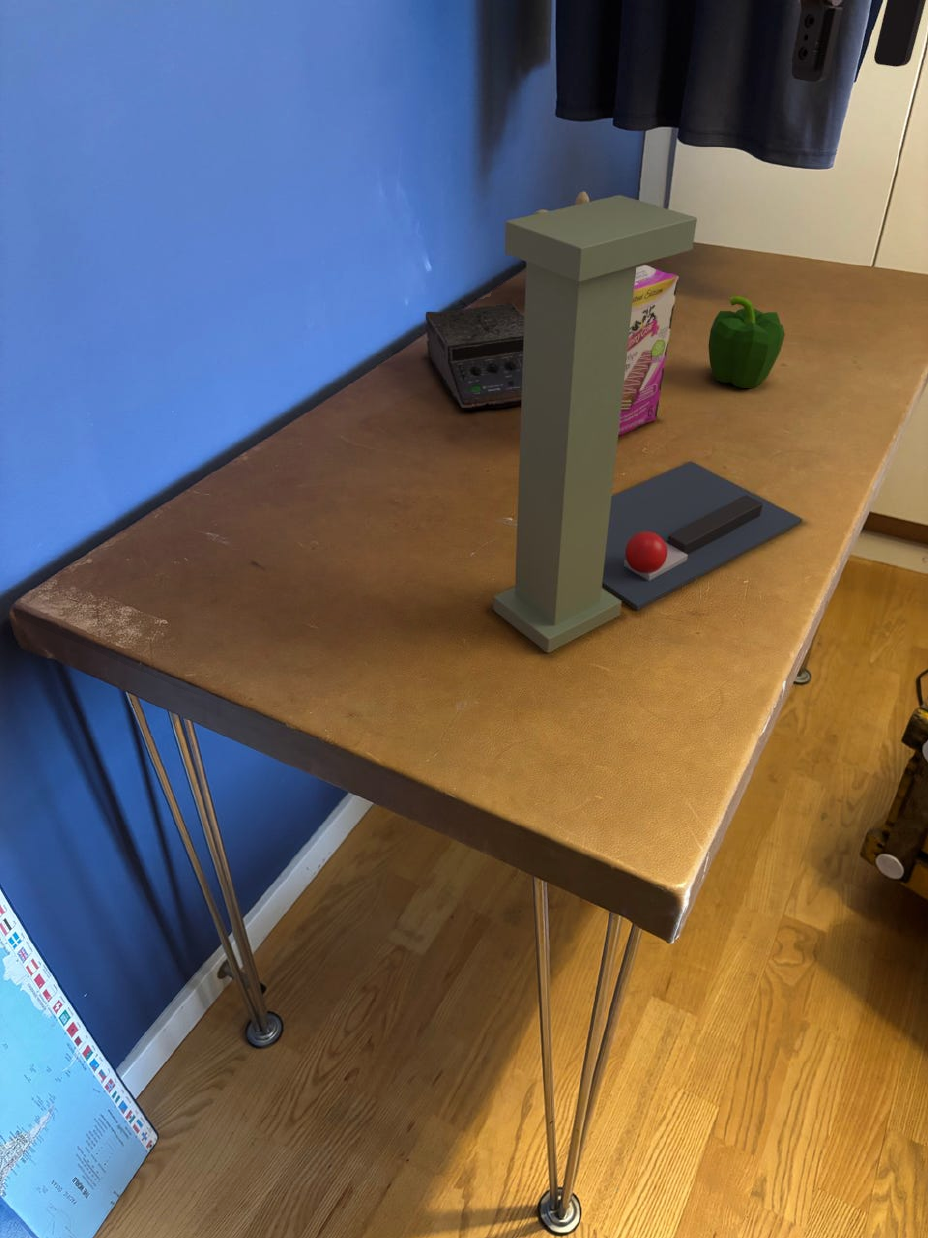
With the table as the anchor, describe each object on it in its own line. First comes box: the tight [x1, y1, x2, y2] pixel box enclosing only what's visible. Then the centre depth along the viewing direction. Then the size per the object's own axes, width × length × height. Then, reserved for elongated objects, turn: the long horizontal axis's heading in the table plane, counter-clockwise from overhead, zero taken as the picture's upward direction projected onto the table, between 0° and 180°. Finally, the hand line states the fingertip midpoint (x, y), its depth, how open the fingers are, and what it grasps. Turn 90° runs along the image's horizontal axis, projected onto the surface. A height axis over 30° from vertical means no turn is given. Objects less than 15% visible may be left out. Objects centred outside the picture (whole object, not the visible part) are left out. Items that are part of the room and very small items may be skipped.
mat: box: [602, 460, 803, 611], centre depth 86 cm, size 22×14×1 cm, turn 127°
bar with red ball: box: [624, 495, 763, 581], centre depth 82 cm, size 17×4×4 cm, turn 128°
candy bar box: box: [618, 264, 680, 437], centre depth 97 cm, size 11×5×16 cm, turn 130°
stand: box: [492, 194, 698, 654], centre depth 67 cm, size 10×7×31 cm, turn 127°
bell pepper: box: [708, 295, 786, 389], centre depth 108 cm, size 8×8×10 cm
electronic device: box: [425, 301, 525, 411], centre depth 110 cm, size 12×17×6 cm
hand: (850, 71), depth 57 cm, fingers open, 8 cm apart
